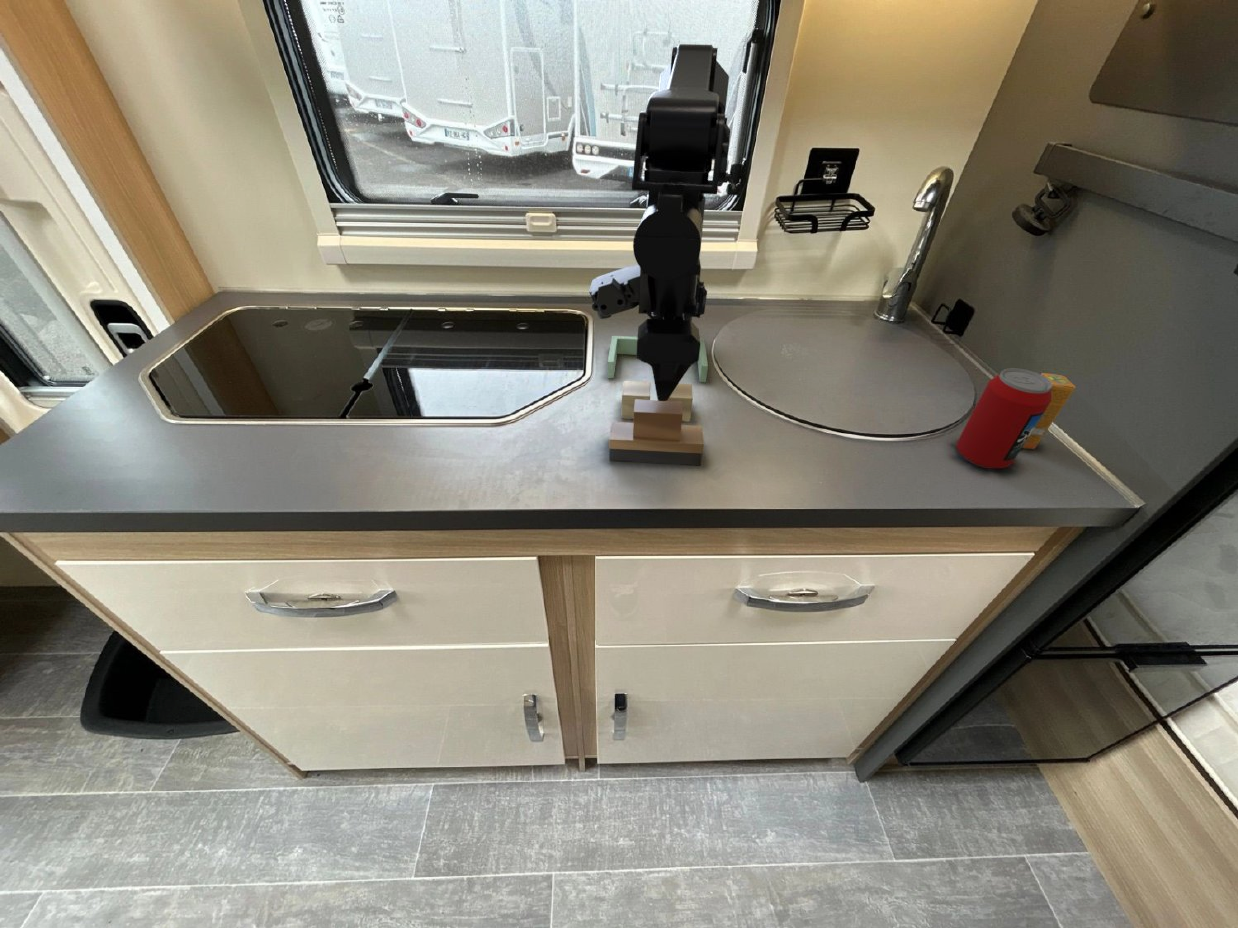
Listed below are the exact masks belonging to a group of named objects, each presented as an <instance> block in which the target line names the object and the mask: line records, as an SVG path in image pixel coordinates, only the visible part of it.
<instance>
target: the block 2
mask: <svg viewBox="0 0 1238 928" xmlns="http://www.w3.org/2000/svg"><path fill="white" fill-rule="evenodd" d="M693 397H694V396H693V383H680V382H679V383H678V385H677V386H676V388H675V389H674V391H673V393H672V394H671V396H670V397H669V399H668V400H667V401H681V402H682V411H683V416H682V422H685V423H686V422H691V417H692V416H691V415H692V410H693V402H694V401H693V400H694V398H693Z"/></svg>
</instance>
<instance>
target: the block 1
mask: <svg viewBox="0 0 1238 928" xmlns="http://www.w3.org/2000/svg"><path fill="white" fill-rule="evenodd" d="M622 383H623V384H622V392H621V419H624V420H625V419H626V420H627V419H628V420H634V405H635V399H638V400H651V388H652V387H651V385H652V382H650V381H634V380H623V382H622Z"/></svg>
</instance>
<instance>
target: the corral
mask: <svg viewBox="0 0 1238 928" xmlns="http://www.w3.org/2000/svg"><path fill="white" fill-rule="evenodd" d="M700 343H701V344H700V353H699V361H697V370H698V379H699V383H706V382H707V377H708V371H709V370H708V369H709V364H708V357H707V356H708V355H707V349H706V342H705V339H700ZM618 355H629V356H630V355H631V356H632V355H633V356H637V336H628V335H627V336H625V335H624V336H623V335H611V340H610V347H609V351H608V357H607V378H608V379H614V378H615V372H616V364H617V358H618Z"/></svg>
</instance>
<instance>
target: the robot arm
mask: <svg viewBox="0 0 1238 928" xmlns="http://www.w3.org/2000/svg"><path fill="white" fill-rule="evenodd" d="M717 59H718V47H714V46H713V45H712V44H695V43H694V44H693V43H692V44H691V43H690V44H688V43H685V44H684V43H679V44H678V46H673V47H672V49H671V59H670V60H671V62H670V63H669V64H668V65H667V66H666V67H665V69H664V70H663V71H662V72H661V73H660V75H659V85H658V90H656V91H654V92H653V93H651V94H650V97H649V98H648V100H647V103H646V108H645V111H644V110H642V111H639V115H638V121H637V129H636V139H635V149H634V160H633V169H632V170H633V171H632V179H631V191H636V192H637V191H640V192H648V194H647V195H646V209H645V210H644V213H643V215H642V217H641V219H640V221H639V224H638V226H637V229H636V231H635V233H634V237H633V242H632V249H633V250H632V251H633V255H634V259H635V261H636V263H637V264H636V265H632V266H626V267H623V268H620V269H616V270H614V271H611V272H608V273H605V274H602V275H598V276H596V277H595V278H593V279H592V280H591V283H590V287H589V290H588V293H589V296H590V297H591V300H592V303H591V308H592V310H593V311H595V312H596V314H597V316H598V318H599V319H600V320H606V319H609V318H612V316H613V315H616V314H620V313H622V312H627V311H629V310H632V309H634V308H636V307H638V314H639V315H641V314H642V315H646V316H648V317H649V318H646V320H644V321H643V322H642V323H640V325H638V326H637V336H636V337H637V355H635V356H636V358H635V359H637V360H639V361H640V362H641V363H644V364H647V365H649V366H650V367H651V371H652V374H653V375H652V376H653V381H654V386H655V392H656V398H657V400H659V401H667V400H668V399H669V397H670V396H671V394H672V393H673V391H674V389H675V388H676V386H677V385H678V383H679V384H680V382H681V380H682V379H683V377H684V376H685V374H686V373H687V372H688V370H689V369H690V368H691V366H693V365H695V363H698V361H699V353H700V344H701V343H700V340H701V337H700V331H699V330H700V329H699V328H698V327H697V326H696V324H695V323H694V322H693V318H697V319H700V318H701V316H702V315H705V311H706V303H707V296H708V290H707V289H706V286H705V281H701V275H702V263H701V258H700V255H701V249H702V239H703V227H704V221H705V220H704V219H705V211H706V210H705V209H706V202H707V201H706V200H707V198H706V196H705V195H718V190H719V183H726V178H727V177H726V176H727V168H728V159H729V149H730V138H731V129H730V127H729V126H728V117H726V109H727V100H728V90H729V81H730V76H729V74H728V72H727V71H726V70H725V69H724V67H722V65H721V64H720V63H719V62H718V60H717ZM712 167H713V168H712ZM644 168H645V169H644ZM712 169H713V171H712ZM711 172H712V179H709V176H710V173H711Z"/></svg>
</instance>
